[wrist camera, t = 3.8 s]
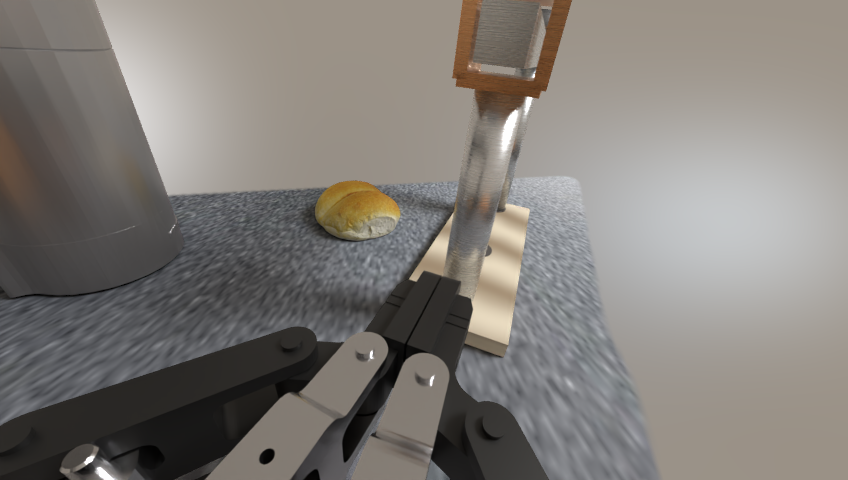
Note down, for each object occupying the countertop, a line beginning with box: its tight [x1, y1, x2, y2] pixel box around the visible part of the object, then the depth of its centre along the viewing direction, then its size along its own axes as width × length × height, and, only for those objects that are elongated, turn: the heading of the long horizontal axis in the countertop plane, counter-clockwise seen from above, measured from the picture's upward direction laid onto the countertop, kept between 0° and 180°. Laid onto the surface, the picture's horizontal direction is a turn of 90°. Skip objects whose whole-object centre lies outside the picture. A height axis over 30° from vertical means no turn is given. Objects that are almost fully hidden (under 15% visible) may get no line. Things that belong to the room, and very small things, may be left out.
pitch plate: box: [409, 204, 530, 357], centre depth 29 cm, size 22×8×1 cm, turn 160°
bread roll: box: [315, 181, 400, 241], centre depth 32 cm, size 8×9×4 cm
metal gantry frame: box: [473, 0, 552, 211], centre depth 24 cm, size 22×3×19 cm, turn 160°
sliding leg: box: [443, 0, 572, 302], centre depth 17 cm, size 3×4×17 cm
